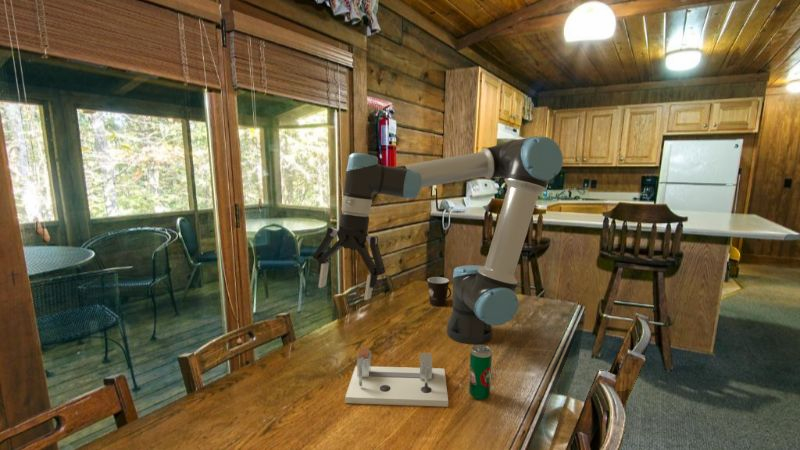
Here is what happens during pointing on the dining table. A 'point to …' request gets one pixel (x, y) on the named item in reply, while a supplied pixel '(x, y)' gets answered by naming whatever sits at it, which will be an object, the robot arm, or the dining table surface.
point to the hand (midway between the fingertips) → (344, 292)
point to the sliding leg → (363, 364)
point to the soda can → (480, 372)
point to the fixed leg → (426, 367)
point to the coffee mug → (438, 291)
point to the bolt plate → (398, 387)
